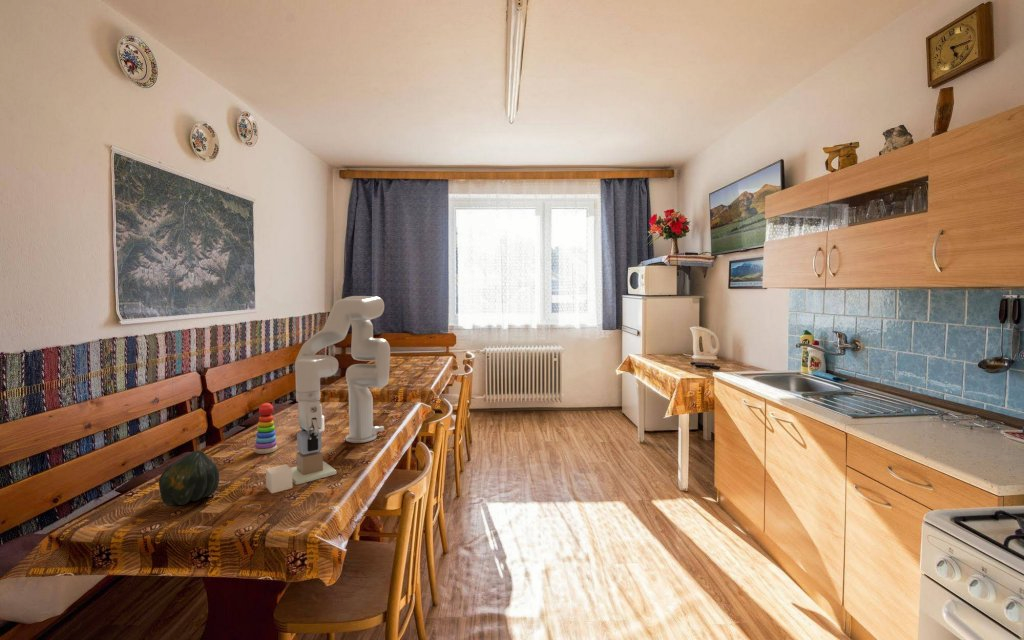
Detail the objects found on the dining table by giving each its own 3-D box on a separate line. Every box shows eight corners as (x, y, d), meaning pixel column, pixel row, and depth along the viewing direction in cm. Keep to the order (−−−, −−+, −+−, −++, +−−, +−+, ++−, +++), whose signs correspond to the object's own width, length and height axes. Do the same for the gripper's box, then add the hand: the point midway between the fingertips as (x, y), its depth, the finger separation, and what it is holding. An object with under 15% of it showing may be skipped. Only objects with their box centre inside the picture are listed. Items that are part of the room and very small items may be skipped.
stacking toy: (267, 455, 171) (266, 406, 170) (249, 453, 173) (247, 405, 172) (282, 448, 179) (281, 401, 178) (264, 446, 181) (263, 400, 180)
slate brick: (315, 446, 158) (315, 429, 158) (321, 450, 154) (321, 433, 153) (297, 450, 154) (296, 432, 154) (303, 454, 150) (302, 436, 149)
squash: (135, 491, 127) (170, 452, 127) (174, 473, 142) (206, 437, 142) (173, 525, 127) (209, 486, 127) (209, 503, 142) (240, 467, 142)
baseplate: (322, 463, 163) (322, 443, 163) (336, 474, 154) (336, 453, 154) (283, 472, 155) (283, 452, 154) (296, 484, 145) (295, 462, 145)
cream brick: (286, 482, 147) (286, 464, 147) (292, 488, 143) (292, 469, 143) (266, 487, 143) (265, 468, 143) (271, 493, 139) (271, 474, 139)
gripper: (329, 398, 149) (330, 452, 150) (310, 389, 162) (312, 439, 163) (305, 401, 144) (306, 457, 145) (288, 392, 157) (289, 444, 158)
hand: (309, 447), depth 154 cm, fingers closed on slate brick, 5 cm apart
